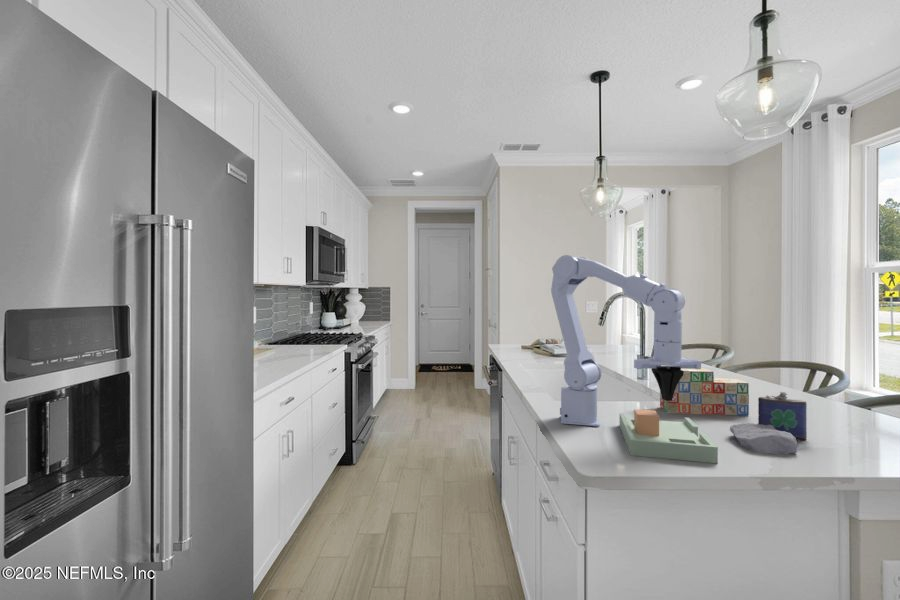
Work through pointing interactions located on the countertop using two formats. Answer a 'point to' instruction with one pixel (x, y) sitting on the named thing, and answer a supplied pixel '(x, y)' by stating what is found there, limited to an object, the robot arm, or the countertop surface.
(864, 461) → the countertop surface
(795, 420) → the flask
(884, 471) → the countertop surface
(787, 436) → the stone block
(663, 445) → the board
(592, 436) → the countertop surface
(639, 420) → the block
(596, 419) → the robot arm
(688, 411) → the stack of blocks
